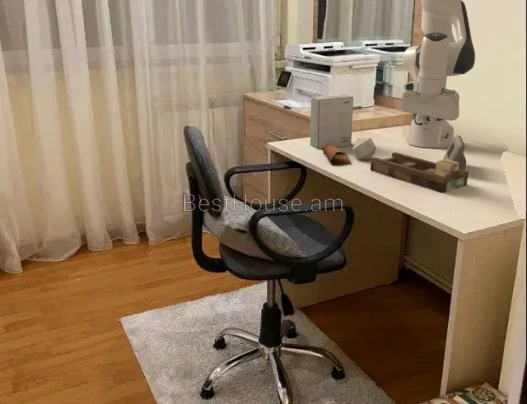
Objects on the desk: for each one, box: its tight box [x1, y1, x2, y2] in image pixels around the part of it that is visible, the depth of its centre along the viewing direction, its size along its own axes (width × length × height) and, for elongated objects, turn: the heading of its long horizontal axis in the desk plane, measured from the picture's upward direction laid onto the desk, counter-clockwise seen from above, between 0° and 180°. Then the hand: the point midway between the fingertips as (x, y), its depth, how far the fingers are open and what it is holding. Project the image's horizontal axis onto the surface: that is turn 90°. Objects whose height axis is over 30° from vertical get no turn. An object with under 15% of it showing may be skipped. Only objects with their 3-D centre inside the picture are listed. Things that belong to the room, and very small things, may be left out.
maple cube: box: [435, 159, 459, 177], centre depth 184 cm, size 5×5×5 cm
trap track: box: [370, 152, 469, 194], centre depth 193 cm, size 13×30×6 cm, turn 38°
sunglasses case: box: [322, 144, 353, 166], centre depth 216 cm, size 18×7×7 cm
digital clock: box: [442, 134, 467, 171], centre depth 203 cm, size 16×9×11 cm, turn 155°
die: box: [351, 137, 377, 161], centre depth 215 cm, size 8×9×10 cm
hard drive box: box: [309, 93, 354, 150], centre depth 231 cm, size 16×8×20 cm, turn 111°
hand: (427, 129), depth 187 cm, fingers closed
